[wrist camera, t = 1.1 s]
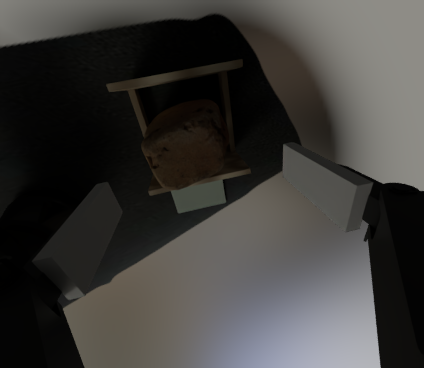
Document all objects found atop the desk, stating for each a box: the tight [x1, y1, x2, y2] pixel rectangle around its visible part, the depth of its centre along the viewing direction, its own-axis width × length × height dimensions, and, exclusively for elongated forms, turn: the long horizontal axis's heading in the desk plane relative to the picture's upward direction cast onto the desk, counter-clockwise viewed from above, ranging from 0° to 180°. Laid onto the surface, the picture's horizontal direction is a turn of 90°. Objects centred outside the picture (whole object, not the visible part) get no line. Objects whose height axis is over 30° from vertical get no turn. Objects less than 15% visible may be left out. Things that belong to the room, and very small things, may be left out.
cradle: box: [106, 59, 250, 195], centre depth 31 cm, size 16×16×12 cm
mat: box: [171, 180, 226, 213], centre depth 43 cm, size 12×11×1 cm
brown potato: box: [141, 99, 229, 190], centre depth 28 cm, size 11×8×20 cm
